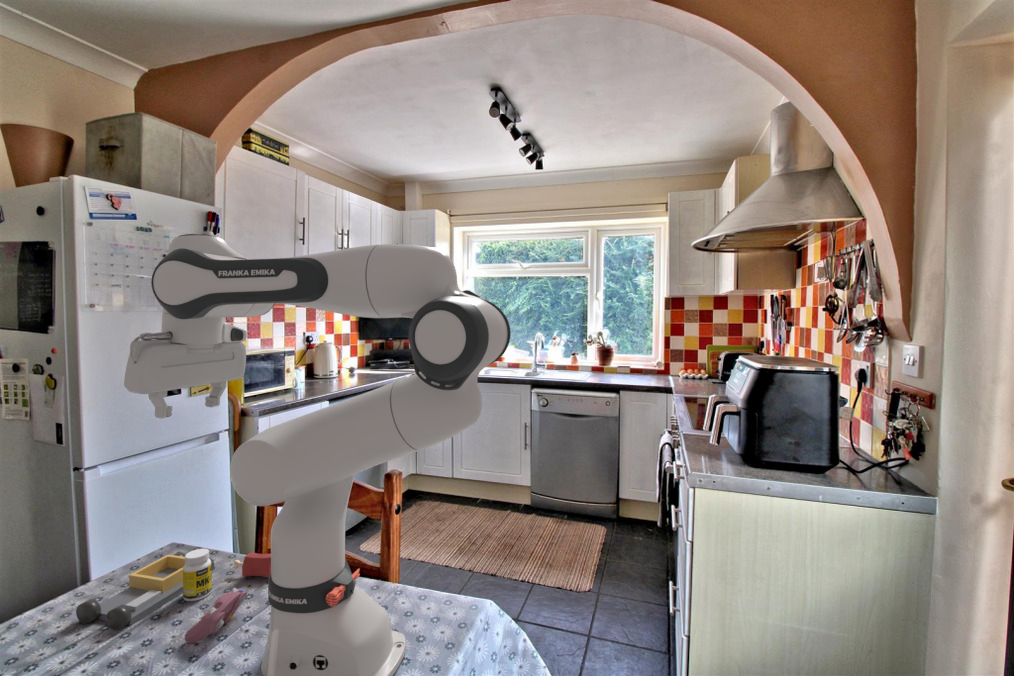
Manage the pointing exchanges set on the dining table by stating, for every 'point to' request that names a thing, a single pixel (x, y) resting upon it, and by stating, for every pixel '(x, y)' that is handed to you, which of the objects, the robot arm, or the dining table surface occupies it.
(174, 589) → the chassis
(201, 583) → the supplement bottle
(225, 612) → the video game controller
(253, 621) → the dining table surface
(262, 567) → the meat
